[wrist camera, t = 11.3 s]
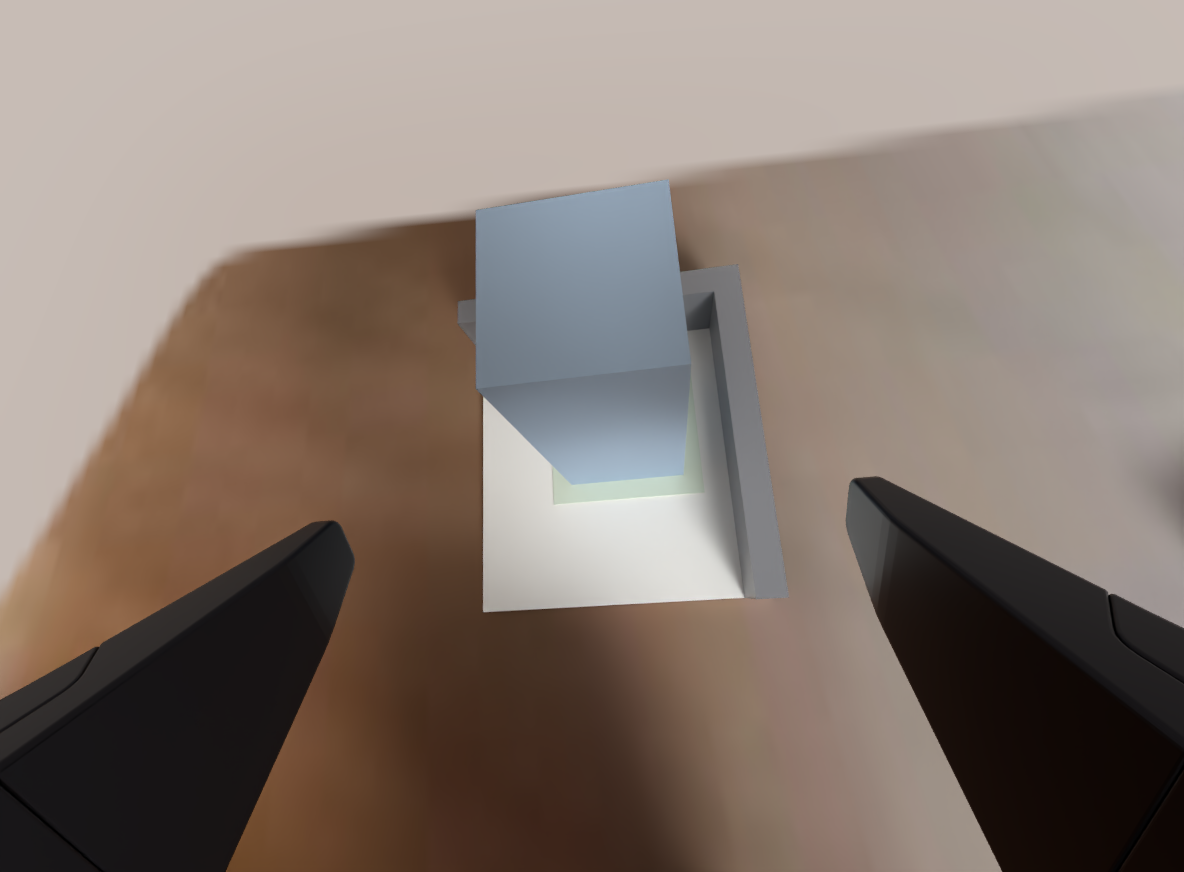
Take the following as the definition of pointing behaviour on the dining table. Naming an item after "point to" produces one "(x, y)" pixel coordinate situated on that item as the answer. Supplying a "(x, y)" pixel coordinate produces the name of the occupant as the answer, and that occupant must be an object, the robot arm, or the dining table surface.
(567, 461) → the slate block
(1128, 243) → the dining table surface
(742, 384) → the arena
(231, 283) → the dining table surface
